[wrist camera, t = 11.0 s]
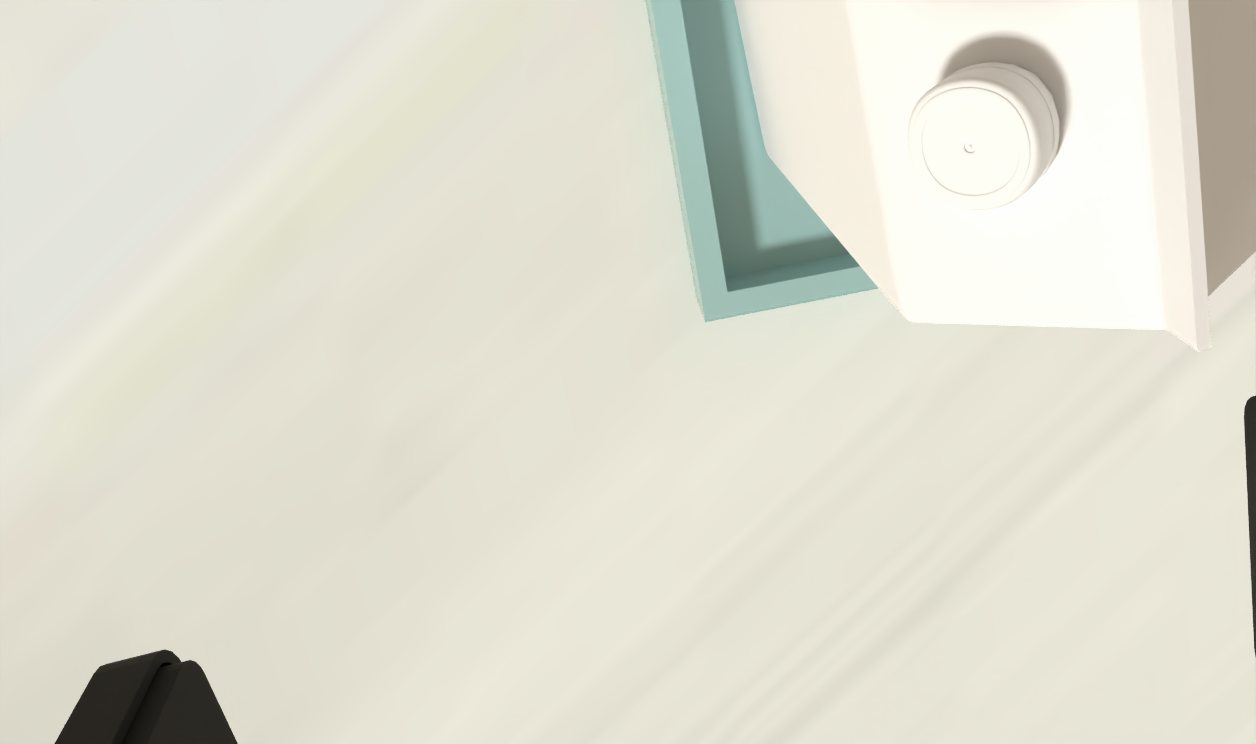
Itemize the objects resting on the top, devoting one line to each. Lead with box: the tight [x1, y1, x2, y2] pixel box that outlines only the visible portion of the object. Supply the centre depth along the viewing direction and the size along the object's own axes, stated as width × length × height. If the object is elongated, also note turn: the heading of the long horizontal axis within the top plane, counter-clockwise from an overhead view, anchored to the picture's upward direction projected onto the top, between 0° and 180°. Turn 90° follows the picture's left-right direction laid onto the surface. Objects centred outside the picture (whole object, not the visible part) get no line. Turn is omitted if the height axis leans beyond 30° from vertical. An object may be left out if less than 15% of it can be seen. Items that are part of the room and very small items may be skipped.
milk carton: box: [734, 0, 1256, 352], centre depth 26 cm, size 7×7×19 cm
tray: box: [646, 0, 878, 322], centre depth 34 cm, size 16×12×2 cm
